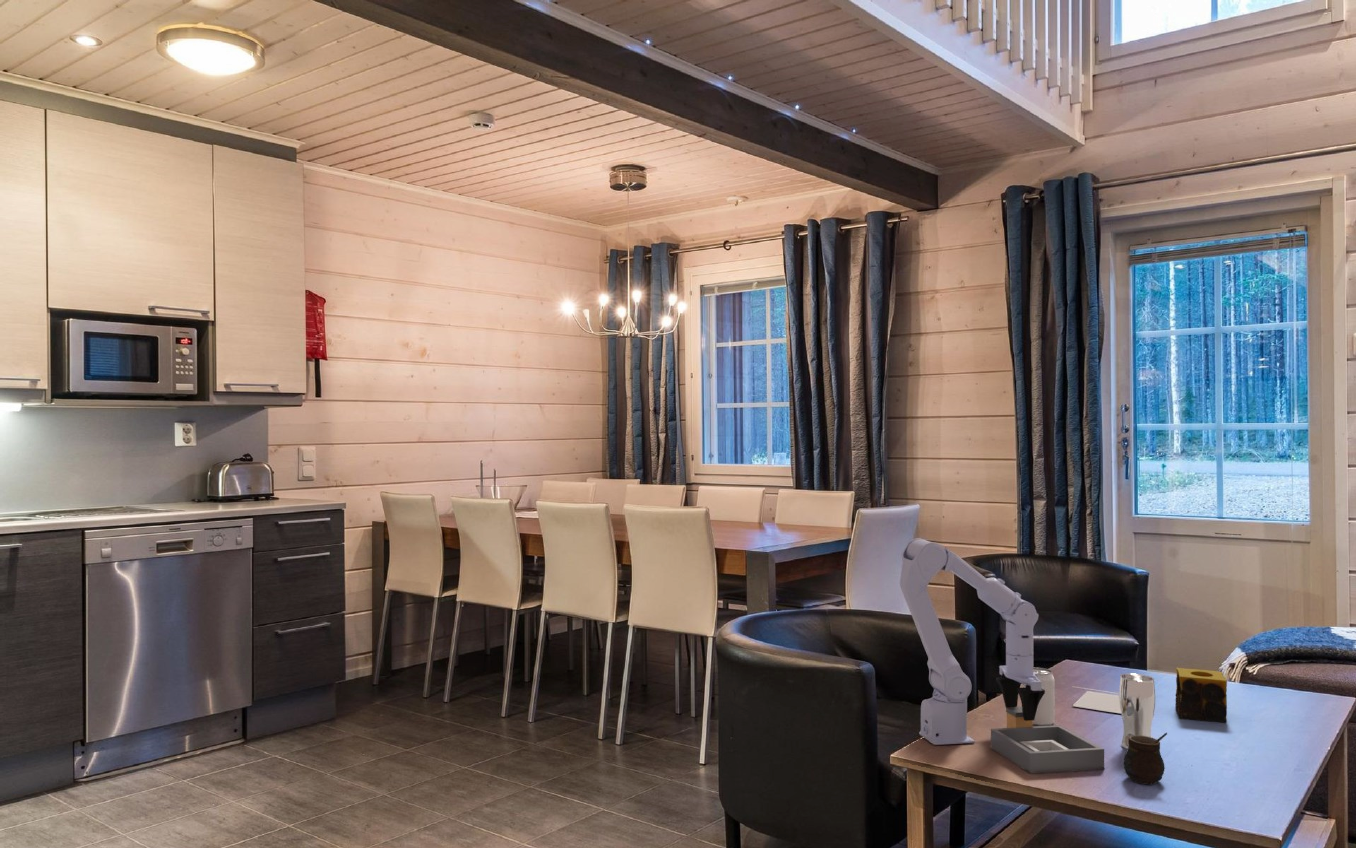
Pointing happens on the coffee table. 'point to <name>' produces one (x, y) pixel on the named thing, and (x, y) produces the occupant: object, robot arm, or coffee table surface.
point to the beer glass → (1136, 705)
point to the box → (1047, 749)
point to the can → (1045, 698)
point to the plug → (1016, 718)
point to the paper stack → (1099, 701)
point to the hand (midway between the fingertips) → (1020, 715)
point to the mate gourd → (1144, 759)
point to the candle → (1201, 695)
